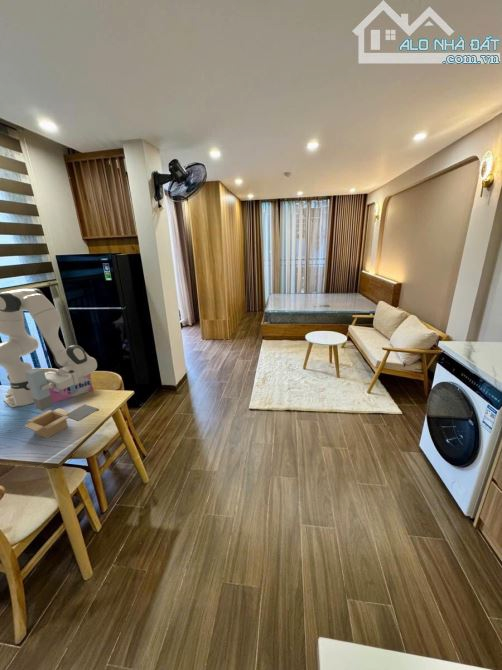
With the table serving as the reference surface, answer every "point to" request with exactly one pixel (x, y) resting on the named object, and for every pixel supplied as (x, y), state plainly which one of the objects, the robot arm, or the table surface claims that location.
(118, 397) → the table surface
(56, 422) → the carton
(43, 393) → the pale upright canister
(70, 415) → the mat
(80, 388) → the pink multipack
